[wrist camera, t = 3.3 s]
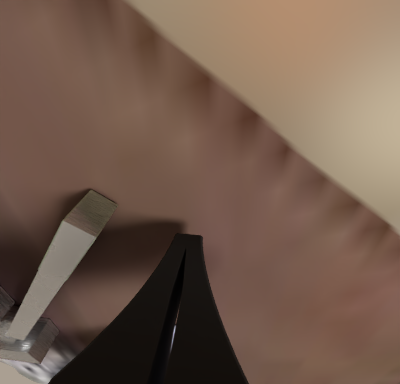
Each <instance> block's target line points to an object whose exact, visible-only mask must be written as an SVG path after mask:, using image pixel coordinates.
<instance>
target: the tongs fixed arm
mask: <svg viewBox="0 0 400 384" xmlns="http://www.w3.org/2000/svg"><path fill="white" fill-rule="evenodd" d="M14 303H15V301H14V300H13V299H12V298H11V297H10V296H9V295H8V294H7V293H6V291H5V290H4V289H3V288H2V287H1V286H0V321H1V319H2V318H3V317H4V316H5V314H6V313H7V312H8V311H9V310H10V308H11V307H12V306H13V305H14ZM58 333H59V330H58V329H57V327H56V326H55V325H54V324H53V322H52V321H51V320H50V319H47V318H39V319H38V320H37V322H36V323H35V325H34V326H33V328H32V329H31V330H30V332H29V333H28V335H27V336H26V338H25V339H24V340H23V341H22V340H19V339H17V340H16V341H15V343H14V344H5V343H1V342H0V358H1V359H8V360H16V361H23V362H31V363H38V364H41V362H42V360H43V359H44V357H45V355H46V353H47V352H48V350H49V348H50V346H51V345H52V343H53V341H54V339H55V338H56V336H57V334H58Z"/></svg>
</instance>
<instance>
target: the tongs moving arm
mask: <svg viewBox="0 0 400 384" xmlns="http://www.w3.org/2000/svg"><path fill="white" fill-rule="evenodd" d="M117 206H118V205H117V204H115V203H114V202H112V201H110V200H108V199H107V198H105V197H103V196H101V195H100V194H98V193H96V192H95V191H93V190H90V191H89V192H88V193H87V194H86V195H85V197H84V198H83V199H82V200H81V201H80V202H79V203H78V204H77V205H76V206H75V207H74V208H73V210H72V211H71V212H70V213H69V214H68V215H67V216H66V217H65V218H64V219H63V220H62V222H61V224H60V226H59V228H58V230H57V232H56V234H55V236H54V238H53V240H52V242H51V244H50V246H49V248H48V250H47V252H46V254H45V256H44V258H43V260H42V262H41V264H40V266H39V268H38V272H37V274H36V276H35V278H34V280H33V282H32V284H31V286H30V288H29V290H28V292H27V294H26V296H25V298H24V300H23V302H22V304H21V306H20V307H17V306H13V307H11V308H10V310H9V311H8V312H7V313H6V314H5V316H4V317H3V318H2V319H1V321H0V342H1V343H5V344H14V343H15V341H16V340H17V339H19V340H22V341H23V340H24V339H25V338H26V336H27V335H28V333H29V332H30V330H31V329H32V328H33V326H34V325H35V323H36V322H37V320H38V319H39V318H40V316H41V315H42V313H43V312H44V310H45V309H46V308H47V306H48V305H49V303H50V302H51V300H52V299H53V298H54V296H55V295H56V293H57V292H58V290H59V289H60V288H61V286H62V285H63V283H64V282H65V281H67V279H68V278H69V276H70V275H71V273H72V272H73V271H74V269H75V268H76V266H77V265H78V264H79V262H80V261H81V259H82V258H83V256H84V255H85V254H86V252H87V251H88V249H89V248H90V247H91V245H92V244H93V242H94V241H95V240H96V238H97V237H98V235H99V234H100V232H101V231H102V229H103V228H104V226H105V225H106V223H107V221H108V220H109V218H110V217H111V215H112V214H113V212H114V211H115V209H116V208H117Z"/></svg>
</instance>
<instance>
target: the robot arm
mask: <svg viewBox="0 0 400 384" xmlns="http://www.w3.org/2000/svg"><path fill="white" fill-rule="evenodd" d="M180 301H181V302H180ZM179 306H180V307H179ZM178 310H179V313H178ZM177 314H178V318H177ZM176 318H177V323H176V326H175V322H176ZM48 384H249V383H248V381H247V379H246V377H245V375H244V373H243V371H242V368H241V366H240V364H239V362H238V360H237V357H236V355H235V353H234V350H233V348H232V346H231V343H230V341H229V338H228V336H227V333H226V331H225V329H224V326H223V323H222V321H221V318H220V315H219V312H218V309H217V306H216V303H215V300H214V297H213V294H212V290H211V287H210V283H209V279H208V275H207V271H206V266H205V261H204V254H203V237H202V236H200V235H190V234H180V233H177V234H176V235H175V237H174V239H173V241H172V243H171V245H170V247H169V248H168V250H167V252H166V254H165V255H164V257H163V258H162V260H161V261H160V263H159V265H158V266H157V268H156V269H155V270H154V272H153V273H152V275H151V276H150V277H149V279H148V280H147V281H146V283H145V284H144V285H143V287H142V288H141V289H140V291H139V292H138V293H137V294H136V295H135V297H134V298H133V299H132V300H131V301H130V303H129V304H128V305H127V306H126V307H125V308H124V309H123V310H122V312H121V313H120V314H119V315H118V316H117V317H116V318H115V319H114V320H113V321H112V322H111V323H110V324H109V325H108V326H107V327H106V328H105V329H104V330H103V331H102V332H101V333H100V334H99V335H98V336H97V337H96V338H95V339H94V340H93V341H92V342H91V343H90V344H89V345H88V346H87V347H86V348H85V349H84V350H83V351H82V352H81V353H80V354H78V355H77V356H76V357H75V358H74V359H73V360H72V361H71V362H70V363H68V364H67V365H66V366H65V367H64V368H63V369H62V370H61V371H59V372H58V373H57V374H56V375H55V376H54V377H53V378H52V379H51V380H50V382H49V383H48Z"/></svg>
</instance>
